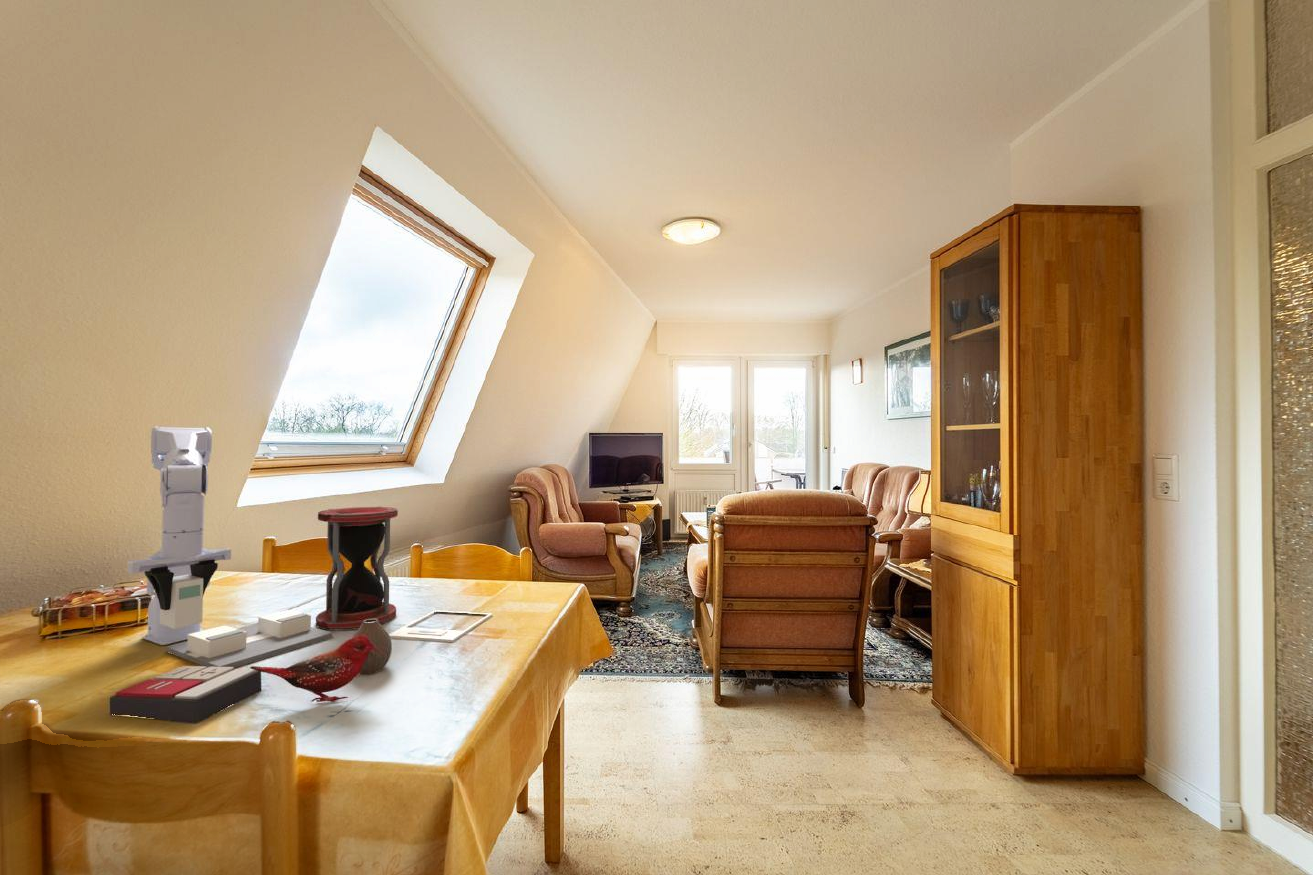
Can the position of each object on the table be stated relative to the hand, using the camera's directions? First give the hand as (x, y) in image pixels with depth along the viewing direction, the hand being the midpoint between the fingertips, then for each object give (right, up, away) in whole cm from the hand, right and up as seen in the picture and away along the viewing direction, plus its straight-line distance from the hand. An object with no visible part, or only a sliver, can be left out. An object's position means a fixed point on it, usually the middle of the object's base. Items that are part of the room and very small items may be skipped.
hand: (181, 605), depth 99 cm
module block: (0, -3, 0) cm, 3 cm away
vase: (+36, -11, -3) cm, 37 cm away
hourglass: (+18, -11, +26) cm, 33 cm away
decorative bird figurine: (+34, -11, -15) cm, 38 cm away
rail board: (+6, -11, +9) cm, 15 cm away
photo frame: (+39, -12, +21) cm, 46 cm away
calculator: (+14, -11, -15) cm, 24 cm away
